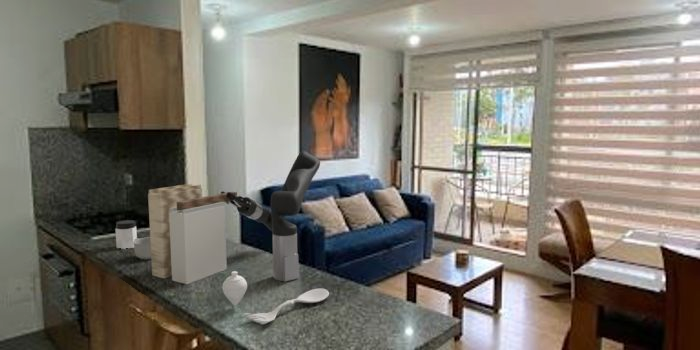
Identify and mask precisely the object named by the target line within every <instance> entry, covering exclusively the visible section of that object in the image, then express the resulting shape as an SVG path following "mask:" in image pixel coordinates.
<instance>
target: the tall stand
mask: <svg viewBox="0 0 700 350" xmlns="http://www.w3.org/2000/svg"><path fill="white" fill-rule="evenodd" d="M147 197H148V198H147V199H148V214H149V215H148V218H149V237H150V241H151V259H150V260H151V275H152V276H154V277H158V278H161V279H166V278H170V277H172V266H171V244H170V223H169V208H174V207H177V202H180V201H185V200H190V199H196V198H201V197H203V188H202V185H201V184H194V185H193V183H185V184H178V185H173V186H167V187H159V188H153V189H152V188H151V189H148V195H147Z"/></svg>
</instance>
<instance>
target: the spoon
mask: <svg viewBox="0 0 700 350" xmlns="http://www.w3.org/2000/svg"><path fill="white" fill-rule="evenodd" d="M329 294H330V292H329V291H328V290H327V289H326V288H320V287H319V288H313V289H310V290H308V291H305V292H304V293H302V294H300V295H298V296H297V298H293V299H289V300H288V299H287V300H286V301H285V302H283V303H280V304H279V305H278V306H277V307H276V308H274V309H273V310H272V311H270V312H264V313H263V312H260V313H249V312H248V313H247V312H245V313H243V314H242V317H243V318H246V319H248V320H250V321H253V322H255V323H258V324H260V325H265V324H268V323H271V322H272V321H275V319H276V316H277V315H278V313H279V312H280V311H281V310H282V309H283V308H284V307H287V306H291V305H294V304H295V303H302V304H303V303H304V304H314V303H315V304H316V303H319V302H322V301H324V300H326V299H327V298H328V297H329Z"/></svg>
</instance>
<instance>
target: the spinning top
mask: <svg viewBox="0 0 700 350" xmlns="http://www.w3.org/2000/svg"><path fill="white" fill-rule="evenodd" d="M238 273H239V272H238V271H236V270H235V271H234V270H233V271H231V275H230V276H228V277H226V278H225V280H224V281H223V283H222V286H221V288H222V292H223V293H224V296H225V297H226V298H227V299H228V301H229V302H230V303H231V304H232V305H233V306H234V309H237V306H238V305H239V303H240V302H241V301H242V299H243V297H244V296H245V294H246V291H247V289H248V283H247V281H246V279H245V278H244V277H243V276H242V275H238Z"/></svg>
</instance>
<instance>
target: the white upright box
mask: <svg viewBox="0 0 700 350" xmlns="http://www.w3.org/2000/svg"><path fill="white" fill-rule="evenodd" d="M169 223H170V244H171V266H172V276H171V281H172V282H173V281H174V282H177V283H182V284H184V285H189V284H191V283H194V282H196V281H199V280H202V279H204V278H207V277H210V276H212V275H214V274H218V273H221V272H222V271H223V272H224V271H226V270H227V269H228V265H227V264H228V263H227V238H226V232H227V231H226V207H225V202H219V203H215V204H210V205H205V206H200V207H195V208H190V209H185V210H182V211H180V210H177V207H174V208H169Z"/></svg>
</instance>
